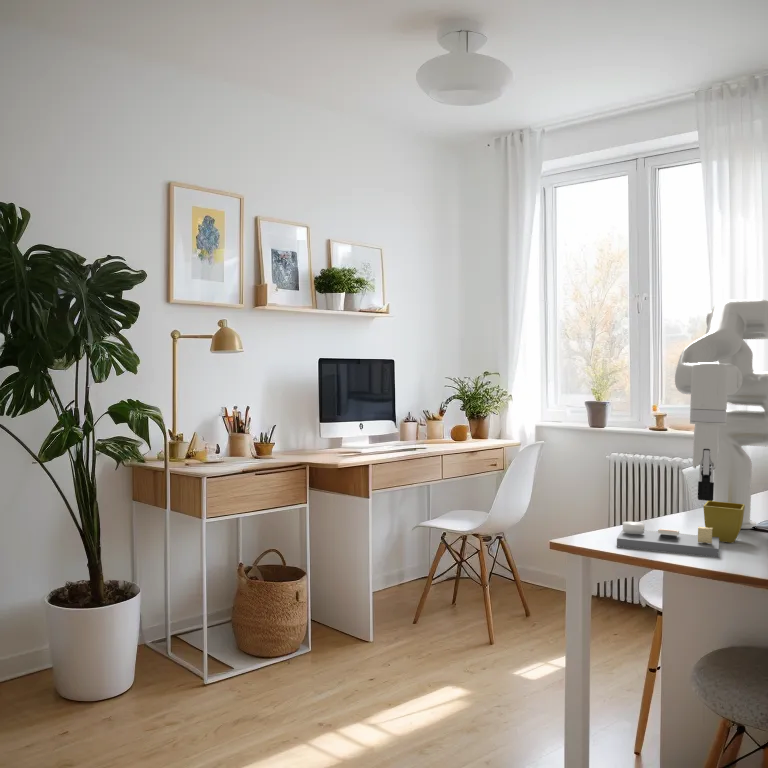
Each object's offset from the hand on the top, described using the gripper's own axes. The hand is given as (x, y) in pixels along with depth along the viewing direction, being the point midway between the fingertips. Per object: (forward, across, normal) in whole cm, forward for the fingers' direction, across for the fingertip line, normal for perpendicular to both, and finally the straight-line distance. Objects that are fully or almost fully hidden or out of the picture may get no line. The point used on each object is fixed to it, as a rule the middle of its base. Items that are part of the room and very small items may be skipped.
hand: (705, 499), depth 172 cm
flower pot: (+13, -23, +4) cm, 26 cm away
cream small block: (+10, -6, 0) cm, 12 cm away
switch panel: (+13, -9, -8) cm, 17 cm away
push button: (+10, -9, -16) cm, 21 cm away
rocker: (+10, -9, -8) cm, 15 cm away
